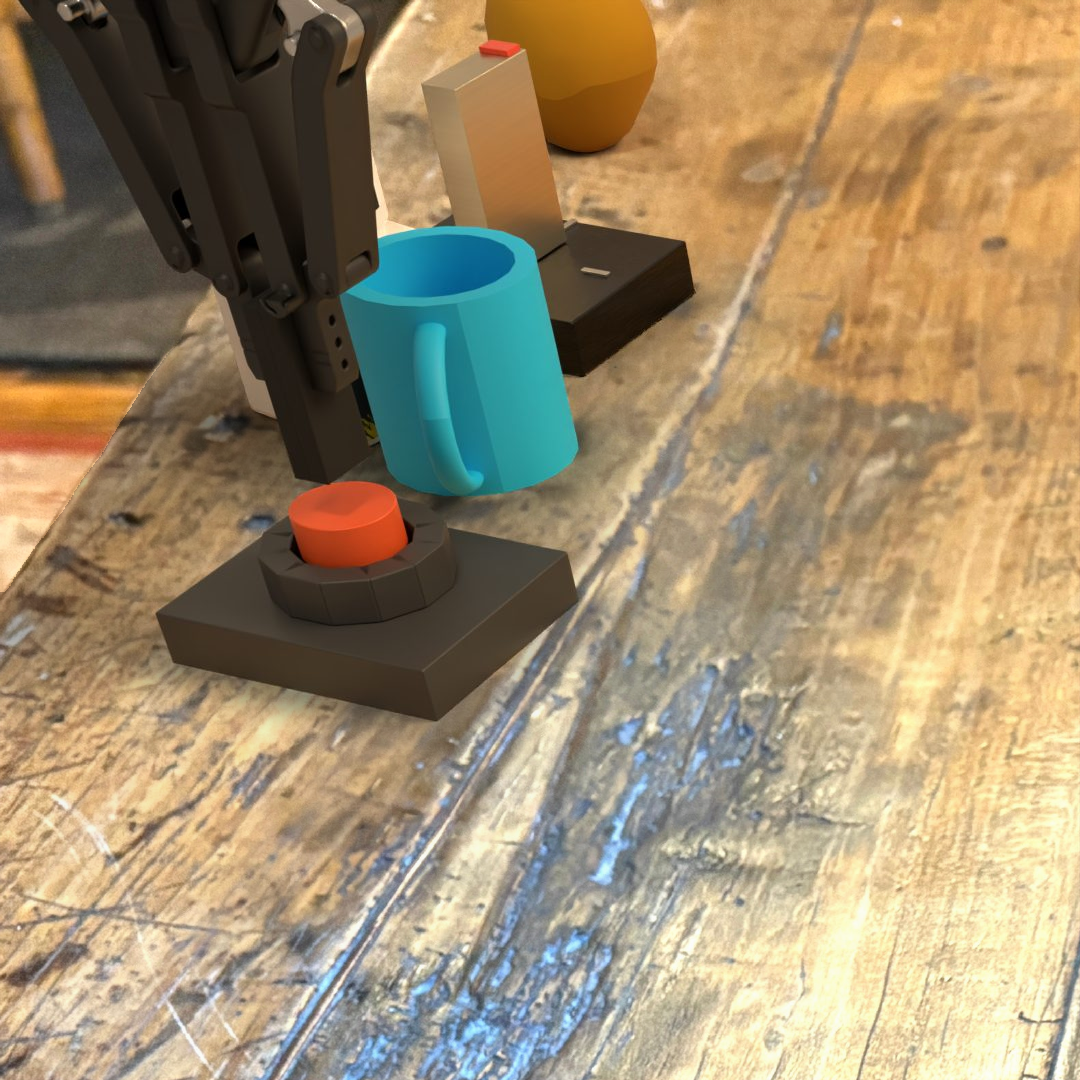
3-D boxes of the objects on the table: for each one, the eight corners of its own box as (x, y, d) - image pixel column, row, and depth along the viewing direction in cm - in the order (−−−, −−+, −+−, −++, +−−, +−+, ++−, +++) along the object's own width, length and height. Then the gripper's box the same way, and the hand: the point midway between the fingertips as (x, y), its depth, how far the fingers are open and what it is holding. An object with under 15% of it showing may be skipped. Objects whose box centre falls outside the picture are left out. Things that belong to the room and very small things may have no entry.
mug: (399, 416, 118) (347, 229, 112) (586, 408, 119) (545, 222, 113) (362, 545, 110) (305, 351, 104) (564, 535, 111) (518, 342, 105)
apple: (708, 134, 142) (676, -47, 136) (590, 183, 137) (551, -3, 131) (595, 99, 145) (559, -80, 139) (476, 145, 140) (433, -38, 134)
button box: (172, 664, 103) (138, 568, 100) (327, 549, 110) (299, 456, 107) (437, 723, 101) (409, 627, 98) (580, 601, 107) (557, 508, 104)
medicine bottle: (361, 454, 116) (279, 169, 107) (248, 412, 118) (159, 130, 109) (482, 395, 120) (413, 115, 111) (371, 356, 122) (295, 80, 114)
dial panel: (360, 334, 124) (344, 277, 122) (481, 254, 131) (468, 199, 129) (584, 377, 121) (571, 319, 120) (696, 293, 128) (685, 237, 126)
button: (279, 561, 102) (265, 518, 100) (342, 515, 104) (329, 473, 103) (368, 580, 101) (355, 537, 100) (429, 533, 104) (417, 491, 102)
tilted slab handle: (501, 284, 122) (453, 83, 116) (468, 278, 123) (418, 77, 116) (567, 240, 126) (524, 43, 119) (535, 234, 126) (490, 37, 120)
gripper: (364, -261, 84) (537, 452, 101) (26, -304, 87) (250, 397, 104) (215, -199, 79) (423, 540, 96) (-139, -247, 82) (125, 480, 99)
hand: (333, 465), depth 100 cm, fingers closed
